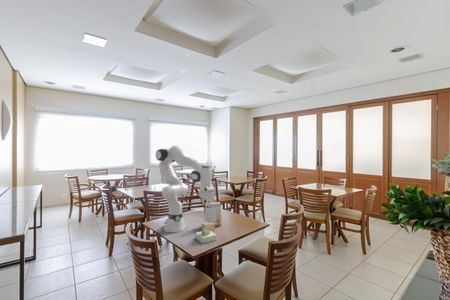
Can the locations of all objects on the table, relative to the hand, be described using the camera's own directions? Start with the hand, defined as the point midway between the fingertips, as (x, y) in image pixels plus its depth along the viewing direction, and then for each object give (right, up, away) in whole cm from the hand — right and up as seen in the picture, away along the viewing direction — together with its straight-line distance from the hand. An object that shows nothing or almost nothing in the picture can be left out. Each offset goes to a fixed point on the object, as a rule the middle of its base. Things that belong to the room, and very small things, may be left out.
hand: (205, 204), depth 168 cm
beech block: (0, -23, 0) cm, 23 cm away
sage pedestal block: (0, -27, 0) cm, 27 cm away
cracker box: (+4, -26, +28) cm, 39 cm away
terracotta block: (+3, -26, +15) cm, 30 cm away
